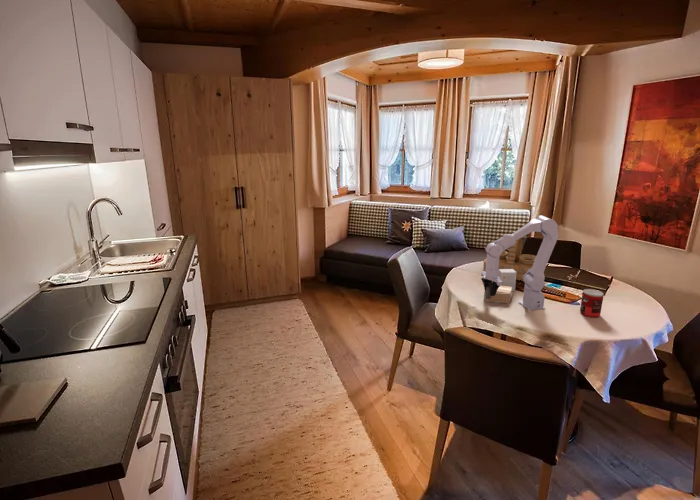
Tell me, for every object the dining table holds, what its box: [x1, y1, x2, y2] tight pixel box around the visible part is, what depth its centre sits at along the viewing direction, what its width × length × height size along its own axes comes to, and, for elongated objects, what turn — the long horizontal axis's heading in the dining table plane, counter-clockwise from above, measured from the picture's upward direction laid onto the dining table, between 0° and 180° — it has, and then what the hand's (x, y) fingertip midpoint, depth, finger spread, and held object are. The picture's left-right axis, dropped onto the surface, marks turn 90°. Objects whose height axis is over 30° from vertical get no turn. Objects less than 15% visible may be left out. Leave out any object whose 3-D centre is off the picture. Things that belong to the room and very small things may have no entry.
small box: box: [498, 269, 517, 291], centre depth 198 cm, size 8×6×10 cm
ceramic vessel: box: [482, 237, 537, 282], centre depth 215 cm, size 34×18×25 cm, turn 49°
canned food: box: [579, 288, 605, 318], centre depth 166 cm, size 8×8×11 cm
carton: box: [496, 285, 513, 303], centre depth 188 cm, size 12×9×5 cm
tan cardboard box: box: [483, 286, 511, 304], centre depth 180 cm, size 12×6×9 cm, turn 74°
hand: (489, 293), depth 178 cm, fingers open, 4 cm apart
